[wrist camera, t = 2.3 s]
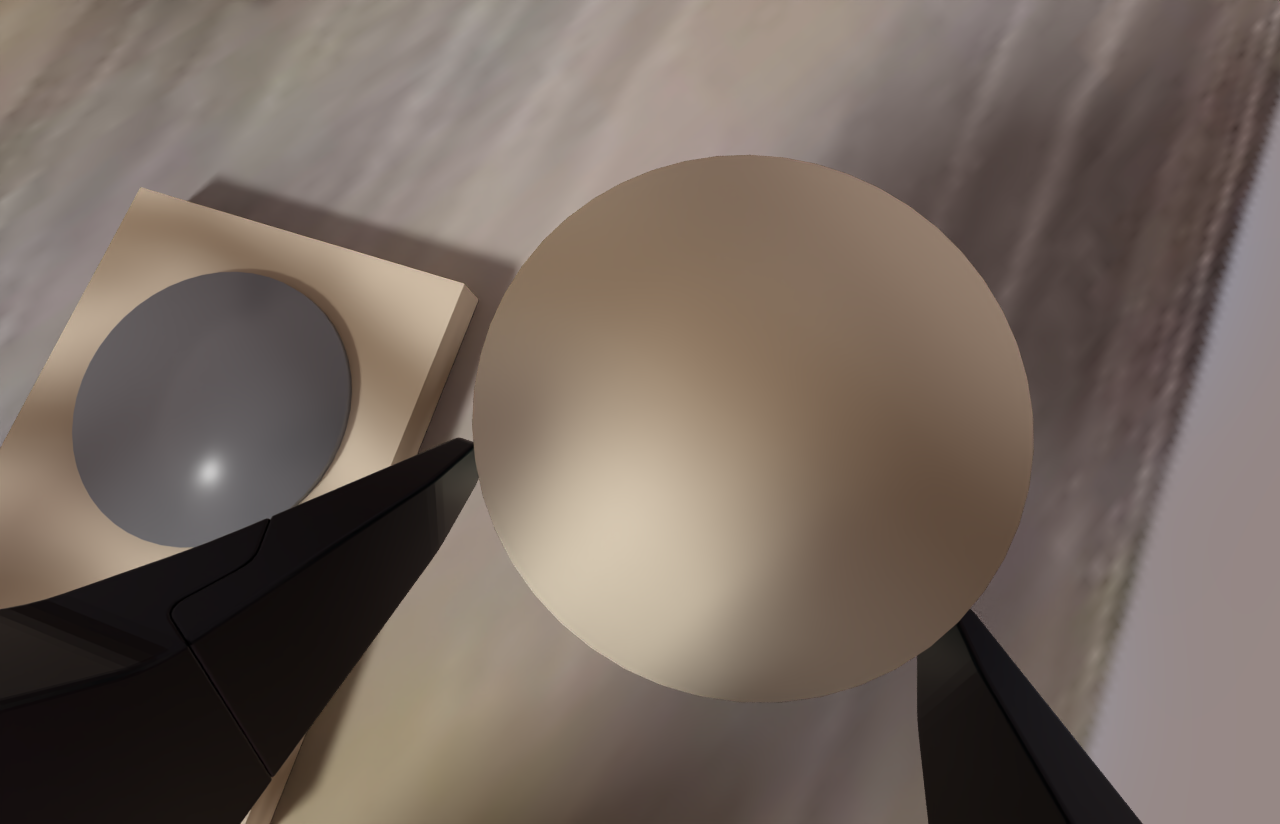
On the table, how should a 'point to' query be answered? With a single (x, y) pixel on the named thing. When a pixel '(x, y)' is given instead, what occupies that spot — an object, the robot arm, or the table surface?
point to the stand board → (214, 396)
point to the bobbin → (752, 428)
